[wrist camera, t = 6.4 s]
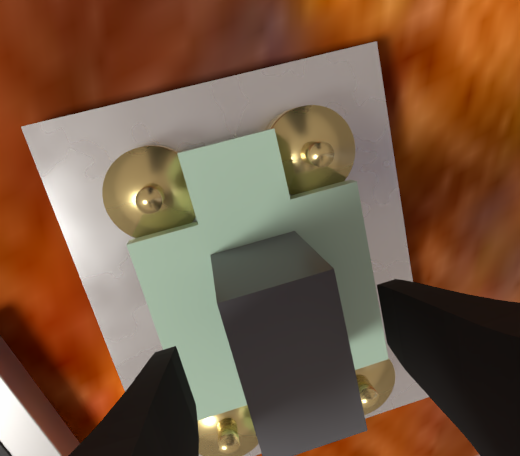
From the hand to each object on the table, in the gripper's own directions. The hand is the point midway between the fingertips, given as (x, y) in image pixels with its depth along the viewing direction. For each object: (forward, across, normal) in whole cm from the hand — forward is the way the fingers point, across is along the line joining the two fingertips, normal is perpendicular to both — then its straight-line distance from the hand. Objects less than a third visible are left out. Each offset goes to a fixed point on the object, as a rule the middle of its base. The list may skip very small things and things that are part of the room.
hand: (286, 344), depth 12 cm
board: (+3, 0, 0) cm, 3 cm away
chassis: (+6, 0, 0) cm, 6 cm away
